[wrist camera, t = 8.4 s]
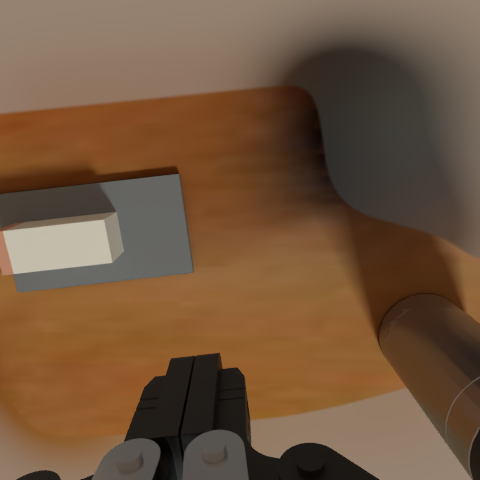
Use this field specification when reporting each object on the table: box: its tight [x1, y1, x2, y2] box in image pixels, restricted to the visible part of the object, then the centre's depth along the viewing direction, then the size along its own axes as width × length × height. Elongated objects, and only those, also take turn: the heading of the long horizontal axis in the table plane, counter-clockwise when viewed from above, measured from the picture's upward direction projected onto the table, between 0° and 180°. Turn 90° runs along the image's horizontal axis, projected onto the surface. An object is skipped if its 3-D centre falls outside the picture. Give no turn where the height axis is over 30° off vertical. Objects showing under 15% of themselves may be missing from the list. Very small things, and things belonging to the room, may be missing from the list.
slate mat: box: [0, 174, 194, 292], centre depth 40 cm, size 18×10×1 cm, turn 96°
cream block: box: [0, 212, 124, 275], centre depth 38 cm, size 4×4×10 cm
